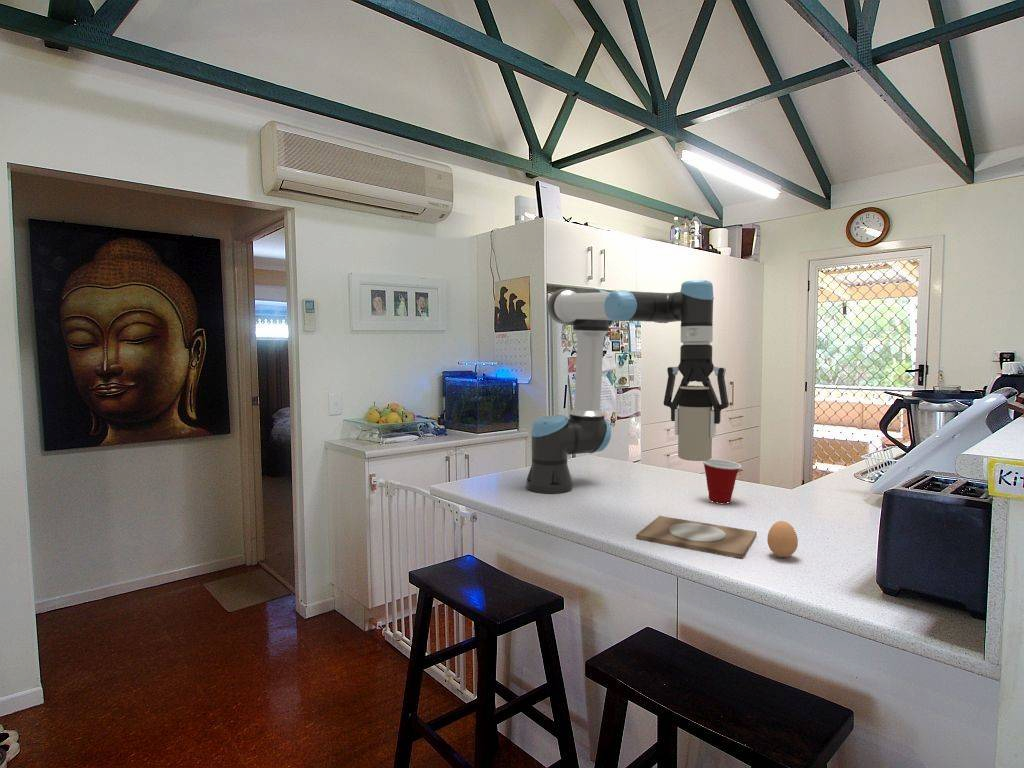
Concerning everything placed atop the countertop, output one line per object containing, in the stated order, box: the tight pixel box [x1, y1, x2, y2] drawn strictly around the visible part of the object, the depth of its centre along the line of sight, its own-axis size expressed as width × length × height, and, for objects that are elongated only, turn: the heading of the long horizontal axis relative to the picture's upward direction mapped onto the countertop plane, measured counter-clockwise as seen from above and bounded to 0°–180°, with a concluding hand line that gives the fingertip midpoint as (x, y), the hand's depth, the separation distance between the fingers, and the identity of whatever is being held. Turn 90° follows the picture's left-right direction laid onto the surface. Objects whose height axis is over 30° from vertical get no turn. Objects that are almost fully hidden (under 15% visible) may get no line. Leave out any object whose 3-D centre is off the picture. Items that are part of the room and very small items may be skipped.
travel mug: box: [677, 385, 713, 462], centre depth 139 cm, size 8×8×18 cm
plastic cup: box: [702, 458, 742, 503], centre depth 166 cm, size 11×11×12 cm
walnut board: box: [635, 515, 757, 559], centre depth 135 cm, size 24×18×1 cm
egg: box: [767, 520, 799, 559], centre depth 122 cm, size 6×6×8 cm
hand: (694, 435), depth 139 cm, fingers closed on travel mug, 8 cm apart
